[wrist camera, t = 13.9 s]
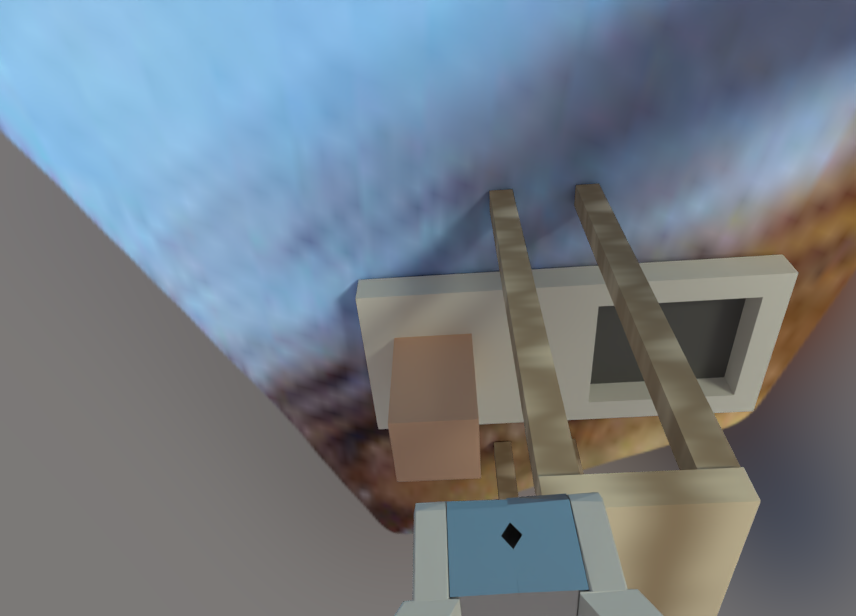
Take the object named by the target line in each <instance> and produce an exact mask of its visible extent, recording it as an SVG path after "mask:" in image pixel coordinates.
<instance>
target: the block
mask: <svg viewBox="0 0 856 616" xmlns="http://www.w3.org/2000/svg"><path fill="white" fill-rule="evenodd" d="M388 428H389V434H390V441H391V447H392V453H393V459H394V465H395V472H396V478H397V482H408V481H430V480H452V479H475V478H481V464H480V438H479V416H478V404H477V392H476V380H475V368H474V356H473V344H472V334H454V335H436V336H419V337H401V338H394V347H393V361H392V374H391V387H390V400H389V414H388Z"/></svg>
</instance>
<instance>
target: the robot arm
mask: <svg viewBox="0 0 856 616" xmlns="http://www.w3.org/2000/svg"><path fill="white" fill-rule="evenodd" d="M413 545H414V546H413V600H412V601H403V603H402V604H401V606H400V607H399V609H398V611H397V612H396V614H395V616H664V615H663V614H662V613H661V612H660V611H659V610H658V609H657V608H656V607H655V606H654V605H653V604H652V603H651V602H650V601H649V600H648V599H647V598H646V597H645V596H644V595H643V594H642V593H641V592H640V591H639V590H638V589H628V588H627V585H626V581H625V577H624V574H623V570H622V566H621V563H620V559H619V556H618V552H617V548H616V545H615V541H614V537H613V534H612V530H611V527H610V523H609V519H608V516H607V512H606V508H605V505H604V501H603V498H602V497H601V495H600V494H599V493H598V492H591V493H579V494H568V495H566V493H565V494H552V495H539V496H527V497H513V498H506V499H496V500H473V501H451V502H446V501H445V502H429V503H416V505H415V511H414V543H413Z"/></svg>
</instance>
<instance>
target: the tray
mask: <svg viewBox="0 0 856 616" xmlns="http://www.w3.org/2000/svg"><path fill="white" fill-rule="evenodd" d="M639 265H640V267H641V269H642V271H643V273H644V275H645V277H646V279H647V281H648V283H649V285H650V287H651V289H652V291H653V293H654V295H655V297H656V299H657V301H658V303H659V305H660V307H661V309H662V311H663V313H664V315H665V317H666V319H667V321H668V323H669V325H670V327H671V329H672V331H673V333H674V335H675V337H676V339H677V341H678V343H679V345H680V347H681V349H682V351H683V353H684V355H685V357H686V359H687V361H688V363H689V365H690V367H691V369H692V371H693V373H694V375H695V377H696V379H697V381H698V383H699V385H700V387H701V389H702V391H703V393H704V395H705V397H706V399H707V401H708V403H709V405H710V407H711V409H712V411H713V413H724V412H745V411H753V410H754V407H755V404H756V401H757V398H758V395H759V392H760V389H761V386H762V383H763V380H764V376H765V373H766V370H767V367H768V364H769V361H770V358H771V355H772V352H773V349H774V346H775V343H776V340H777V337H778V334H779V330H780V327H781V324H782V321H783V318H784V315H785V312H786V309H787V306H788V303H789V300H790V297H791V294H792V291H793V288H794V284H795V281H796V278H797V275H798V272H797V271H796V270H795V268H794V267H793V266H792V265H791V264H790V263H789V261H788V260H787V259H786V258H785V257H784V256H783V255H767V256H750V257H733V258H717V259H700V260H683V261H666V262H650V263H639ZM532 274H533V278H534V282H535V287H536V291H537V295H538V299H539V303H540V308H541V312H542V316H543V320H544V324H545V329H546V333H547V337H548V341H549V345H550V350H551V354H552V358H553V362H554V366H555V371H556V375H557V379H558V383H559V388H560V392H561V396H562V400H563V404H564V409H565V413H566V417H567V420H580V419H600V418H621V417H642V416H658V414H657V411H656V409H655V406H654V404H653V401H652V399H651V396H650V394H649V391H648V389H647V386H646V384H645V381H644V379H643V376H642V374H641V371H640V369H639V366H638V364H637V361H636V359H635V356H634V354H633V351H632V349H631V346H630V344H629V341H628V339H627V336H626V334H625V331H624V329H623V326H622V324H621V321H620V319H619V316H618V314H617V311H616V309H615V306H614V304H613V301H612V299H611V296H610V294H609V291H608V289H607V286H606V284H605V281H604V279H603V276H602V274H601V271H600V269H599V266H583V267H566V268H549V269H532ZM356 304H357V310H358V316H359V322H360V327H361V333H362V339H363V345H364V350H365V356H366V362H367V367H368V373H369V379H370V385H371V390H372V396H373V402H374V408H375V413H376V419H377V425H378V429H389V428H388V414H389V400H390V387H391V374H392V361H393V347H394V338H401V337H419V336H436V335H454V334H472V344H473V356H474V368H475V380H476V392H477V404H478V416H479V424H497V423H518V422H524V420H523V414H522V407H521V401H520V395H519V389H518V383H517V376H516V370H515V364H514V358H513V352H512V345H511V339H510V333H509V327H508V321H507V314H506V308H505V302H504V296H503V290H502V283H501V277H500V271H499V272H482V273H465V274H449V275H432V276H415V277H398V278H382V279H365V280H359V281H358V287H357V293H356Z"/></svg>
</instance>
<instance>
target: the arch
mask: <svg viewBox="0 0 856 616" xmlns="http://www.w3.org/2000/svg"><path fill="white" fill-rule="evenodd" d="M489 193H490V215H491V221H492V228H493V234H494V240H495V246H496V252H497V259H498V265H499V271H500V277H501V283H502V290H503V296H504V302H505V308H506V314H507V321H508V327H509V333H510V339H511V345H512V352H513V358H514V364H515V370H516V376H517V383H518V389H519V395H520V401H521V407H522V414H523V420H524V426H525V432H526V438H527V445H528V451H529V457H530V463H531V469H532V476H533V482H534V488H535V494H536V496H539V495H552V494H565V493H566V495H568V494H579V493H591V492H598V493H599V494H600V495H601V497H602V498H603V501H604V505H605V508H606V512H607V516H608V519H609V523H610V527H611V530H612V534H613V537H614V541H615V545H616V548H617V552H618V556H619V559H620V563H621V566H622V570H623V574H624V577H625V581H626V585H627V588H628V589H638V590H639V591H640V592H641V593H642V594H643V595H644V596H645V597H646V598H647V599H648V600H649V601H650V602H651V603H652V604H653V605H654V606H655V607H656V608H657V609H658V610H659V611H660V612H661V613H662V614H663V615H664V616H717V614H718V612H719V609H720V606H721V604H722V601H723V598H724V596H725V593H726V591H727V588H728V585H729V583H730V580H731V577H732V575H733V572H734V570H735V567H736V564H737V562H738V559H739V556H740V554H741V551H742V549H743V546H744V543H745V541H746V538H747V535H748V533H749V530H750V528H751V525H752V522H753V520H754V517H755V514H756V512H757V509H758V507H759V504H760V499H759V497H758V495H757V493H756V491H755V489H754V487H753V485H752V483H751V481H750V479H749V477H748V475H747V473H746V471H745V469H744V468H743V467H742V468H741V467H740V465H739V463H738V461H737V459H736V457H735V455H734V453H733V451H732V449H731V447H730V445H729V443H728V441H727V439H726V437H725V435H724V433H723V431H722V429H721V427H720V425H719V423H718V421H717V419H716V417H715V415H714V413H713V411H712V409H711V407H710V405H709V403H708V401H707V399H706V397H705V395H704V393H703V391H702V389H701V387H700V385H699V383H698V381H697V379H696V377H695V375H694V373H693V371H692V369H691V367H690V365H689V363H688V361H687V359H686V357H685V355H684V353H683V351H682V349H681V347H680V345H679V343H678V341H677V339H676V337H675V335H674V333H673V331H672V329H671V327H670V325H669V323H668V321H667V319H666V317H665V315H664V313H663V311H662V309H661V307H660V305H659V303H658V301H657V299H656V297H655V295H654V293H653V291H652V289H651V287H650V285H649V283H648V281H647V279H646V277H645V275H644V273H643V271H642V269H641V267H640V265H639V263H638V261H637V259H636V257H635V255H634V253H633V251H632V249H631V247H630V245H629V243H628V241H627V239H626V237H625V235H624V233H623V231H622V229H621V227H620V225H619V223H618V221H617V219H616V217H615V215H614V213H613V211H612V209H611V207H610V205H609V203H608V201H607V199H606V197H605V195H604V193H603V191H602V189H601V187H600V185H599V184H583V185H576V188H575V202H574V206H575V209H576V211H577V214H578V216H579V219H580V221H581V224H582V226H583V229H584V231H585V234H586V236H587V239H588V241H589V244H590V246H591V249H592V251H593V254H594V256H595V259H596V261H597V264H598V266H599V269H600V271H601V274H602V276H603V279H604V281H605V284H606V286H607V289H608V291H609V294H610V296H611V299H612V301H613V304H614V306H615V309H616V311H617V314H618V316H619V319H620V321H621V324H622V326H623V329H624V331H625V334H626V336H627V339H628V341H629V344H630V346H631V349H632V351H633V354H634V356H635V359H636V361H637V364H638V366H639V369H640V371H641V374H642V376H643V379H644V381H645V384H646V386H647V389H648V391H649V394H650V396H651V399H652V401H653V404H654V406H655V409H656V411H657V414H658V416H659V419H660V421H661V424H662V426H663V429H664V432H665V434H666V437H667V439H668V442H669V444H670V446H671V449H672V452H673V454H674V456H675V459H676V462H677V464H678V466H679V469H680V470H675V471H652V472H628V473H607V474H584V473H583V469H582V465H581V461H580V457H579V453H578V449H577V445H576V441H575V439H572V438H571V434H570V430H569V425H568V421H567V417H566V413H565V409H564V404H563V400H562V396H561V392H560V388H559V383H558V379H557V375H556V371H555V366H554V362H553V358H552V354H551V350H550V345H549V341H548V337H547V333H546V329H545V324H544V320H543V316H542V312H541V308H540V303H539V299H538V295H537V291H536V287H535V282H534V278H533V274H532V270H531V266H530V261H529V257H528V253H527V249H526V244H525V240H524V236H523V232H522V228H521V223H520V219H519V215H518V211H517V207H516V202H515V198H514V194H513V190H512V189H507V190H492V191H489ZM494 457H495V467H496V477H497V486H498V496H499V499H506V498H513V497H518V491H517V483H516V476H515V468H514V461H513V453H512V446H511V442H494Z"/></svg>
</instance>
